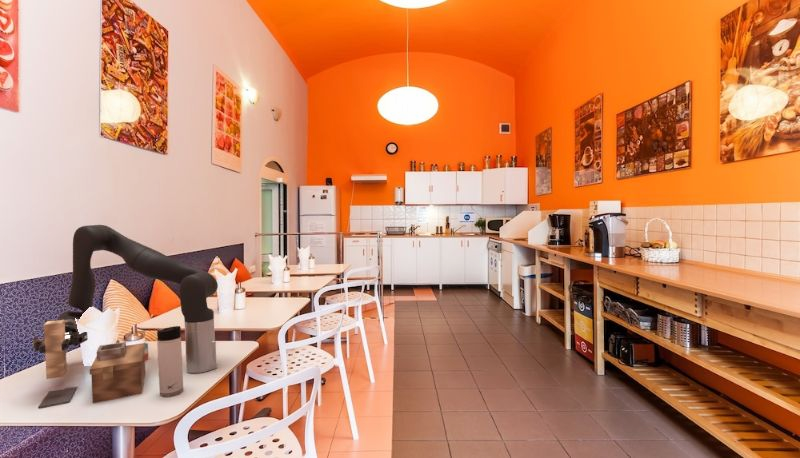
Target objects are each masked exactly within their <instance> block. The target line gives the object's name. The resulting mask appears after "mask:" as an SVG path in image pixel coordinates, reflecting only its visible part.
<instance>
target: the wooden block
mask: <svg viewBox="0 0 800 458" xmlns="http://www.w3.org/2000/svg"><path fill="white" fill-rule="evenodd" d="M43 334H44V335H43V336H44V338H45V353H44V354H45V355H44V356H45V358H44V359H45V372H46V373H45V374H46V376H45V377H46V380H50V379H55V378H63V377H65V376H66V374H67V372H68V369H67V368H68V367H67V366H68V365H67V348H66V349H65V350H62V342H63V341H64V340H65V320H58V319H57V320H49V321H46V322H45V323H44V324H43ZM44 338H43V339H44Z"/></svg>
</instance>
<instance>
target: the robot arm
mask: <svg viewBox="0 0 800 458" xmlns="http://www.w3.org/2000/svg"><path fill="white" fill-rule="evenodd" d="M72 238H73V239H72V280H71V286H70V289H69V290H70V291H69V294H68V300H67V303H68V305H69V306H70V307H71V308H75V309H78V310H80V311H73V310H68V311H67V310H66V311H63V312H61V314H60V315H58V319H57V320H65V340H64V341H63V342H62V350H65V349H66V350H67V349H68V348H70V347H72V346H74V347H75V346H80V345H81V344H83V343H85V342H86V341H88V337H89V336H88V332H82V333H81V334H79V332H78V329H77V324H76V321H75V318H76V319H80V317H81V316H82V314H83V313H84V312H85V311H86V310H87V309H88V308H89V307H93V305H94V304H93V303H94V301H93V300H94V296H95V293H96V287H97V284H96V279H95V275H94V273H93V269H92V267H91V266H92V265H91V261H92V256H93V253H94V252H99V251H106V252H110V253H112V254H114V255H116V256H118V257H120V258H121V259H122V260H123V261H124V263H125V264H126V266H127V267H128V268H129V269H130V270H132V271H134V272H135V273H138V274H141V275H142V276H145V277H147V278H151V279H153V280H159V281H164V282H171V283H175V284H178V285H179V301H180V310H181V311H180V312H181V314H182V315H183V319H184V320H183V321H184V337H185V338H184V339H185V359H186V360H185V361H186V364H185V365H186V372H187V373H189V374H200V373H205V372H209V371H212V370H215V369H217V367H218V366H217V365H218V363H217V347H216V345H217V343H216V336H215V334H216V333H215V332H216V331H215V315H214V314H215V313H214V312H215V311H214V310H213V309H212V308H209V307H208V300H207V299H208V298H209V297H211V296H213V295H214V294H215V293H216V292H217V291H218V287H219V286H218V285H219V284H218V281H217V279H216V277H214V276H213V274H211V273H209V272H207V271H204V270H202V269H199V268H195V267H193V266H189V265H187V264H184V263H182V262H181V261H178V260H176V259H174V258H172V257H170V256H168V255H166V254H164V253H163V252H160V251H158V250H155V249H153V248H152V247H150V246H146V245H144V244H141V243H140V242H137V241H135V240H133V239H131V238H129V237H127V236H126V235H124V234H122V233H120V232H119V231H118V230H115V229H113V228H111V227H110V226H108V225H106V224H105V225H103V224H94V225H93V224H92V225H91V224H90V225H82V226H80V227H78V228H77V229H76V230H75V232H74V233H73V237H72ZM32 348H33V350H35V351H37V352H38V351H39V352H40V353H42V354H45V338H42V339H41V338H38V337H34V338H32Z"/></svg>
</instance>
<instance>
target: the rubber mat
mask: <svg viewBox="0 0 800 458" xmlns="http://www.w3.org/2000/svg"><path fill="white" fill-rule="evenodd" d="M78 388H79V387H78V386H73V387H72V386H71V387H66V388H65V387H64V388H60V389H55V390H49V391H48V392H47V393H46V395H45V396H44V397H43V399H42V401H41V402H40V404H39V405H38V407H37V409H38V408H39V409H45V408H50V407H54V406H60V405H65V404H70V403H71V402H72V399H73V397H74V396H75V394H76V391H77V390H78Z"/></svg>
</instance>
